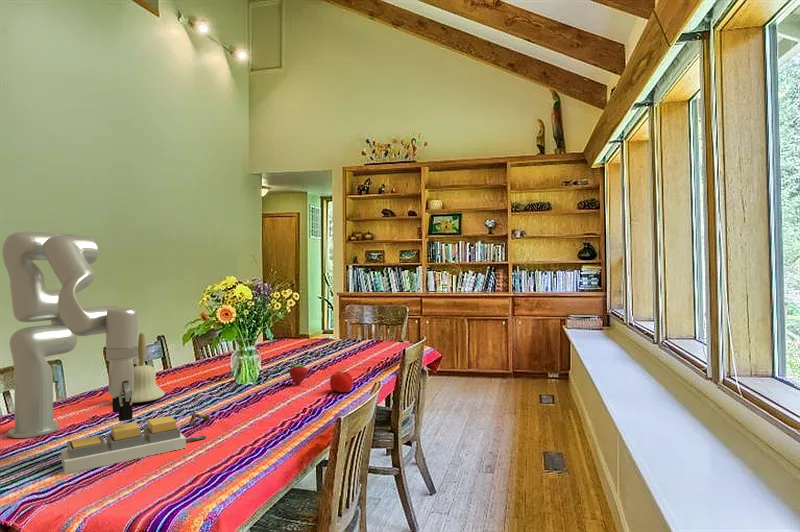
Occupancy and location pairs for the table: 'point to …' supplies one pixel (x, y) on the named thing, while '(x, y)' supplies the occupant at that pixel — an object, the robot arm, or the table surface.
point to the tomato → (341, 382)
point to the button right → (161, 424)
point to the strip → (122, 449)
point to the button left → (85, 442)
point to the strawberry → (298, 373)
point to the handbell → (145, 377)
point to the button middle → (125, 431)
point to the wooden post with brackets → (206, 417)
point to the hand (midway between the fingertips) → (122, 415)
